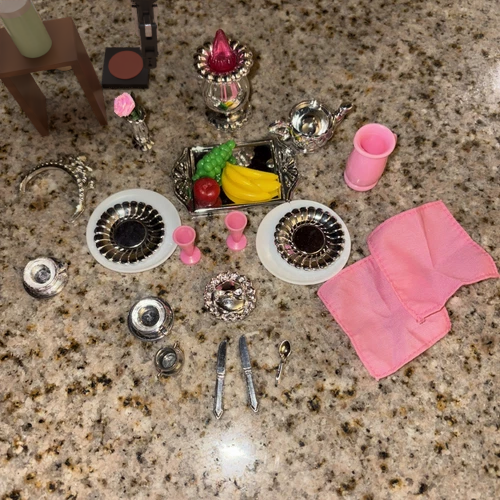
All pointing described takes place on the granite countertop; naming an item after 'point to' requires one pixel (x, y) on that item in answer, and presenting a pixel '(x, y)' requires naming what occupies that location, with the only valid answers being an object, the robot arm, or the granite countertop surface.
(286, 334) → the granite countertop surface
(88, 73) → the brown wooden stool
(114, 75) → the hob
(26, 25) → the jar
